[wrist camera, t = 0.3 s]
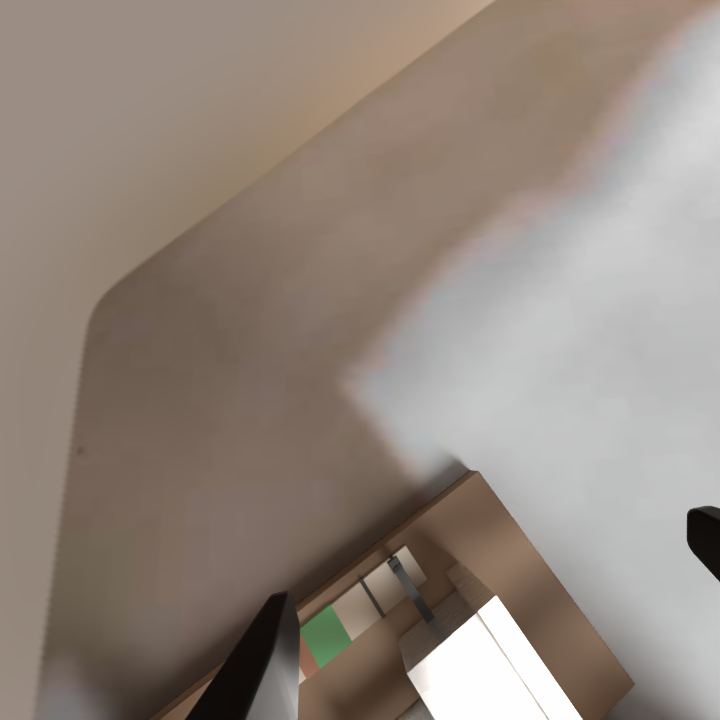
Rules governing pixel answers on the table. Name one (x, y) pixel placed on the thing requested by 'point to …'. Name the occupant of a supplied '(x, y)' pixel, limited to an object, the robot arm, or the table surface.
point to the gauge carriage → (474, 659)
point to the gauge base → (399, 614)
